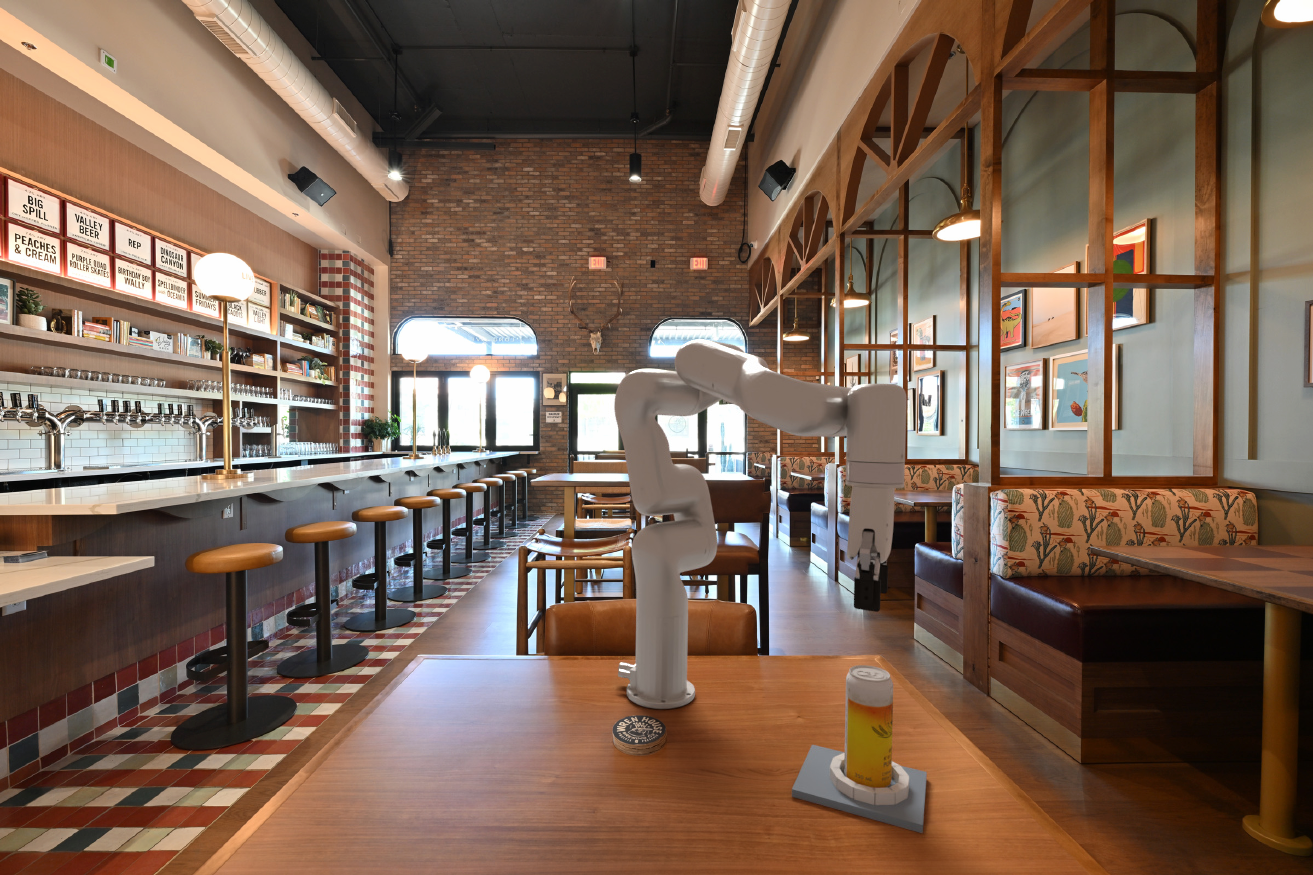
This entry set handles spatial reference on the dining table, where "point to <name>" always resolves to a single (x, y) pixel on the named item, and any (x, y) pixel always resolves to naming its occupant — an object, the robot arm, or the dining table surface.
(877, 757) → the beer can
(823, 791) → the base board
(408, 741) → the dining table surface
